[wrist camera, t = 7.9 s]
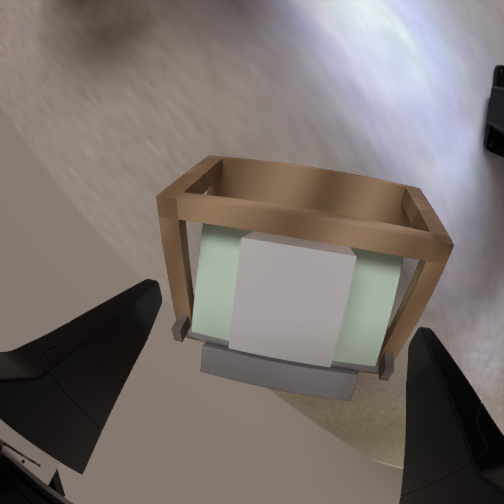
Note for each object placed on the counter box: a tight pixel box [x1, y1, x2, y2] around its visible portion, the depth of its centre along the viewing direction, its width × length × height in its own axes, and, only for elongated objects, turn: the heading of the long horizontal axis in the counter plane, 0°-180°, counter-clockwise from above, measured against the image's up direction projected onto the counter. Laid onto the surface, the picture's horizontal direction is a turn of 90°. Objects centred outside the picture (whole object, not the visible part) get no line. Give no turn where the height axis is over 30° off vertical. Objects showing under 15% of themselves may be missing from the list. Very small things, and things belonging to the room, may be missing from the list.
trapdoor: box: [188, 223, 403, 401], centre depth 17 cm, size 12×10×1 cm
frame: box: [156, 156, 454, 381], centre depth 19 cm, size 15×11×9 cm
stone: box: [229, 231, 357, 367], centre depth 14 cm, size 5×5×5 cm
